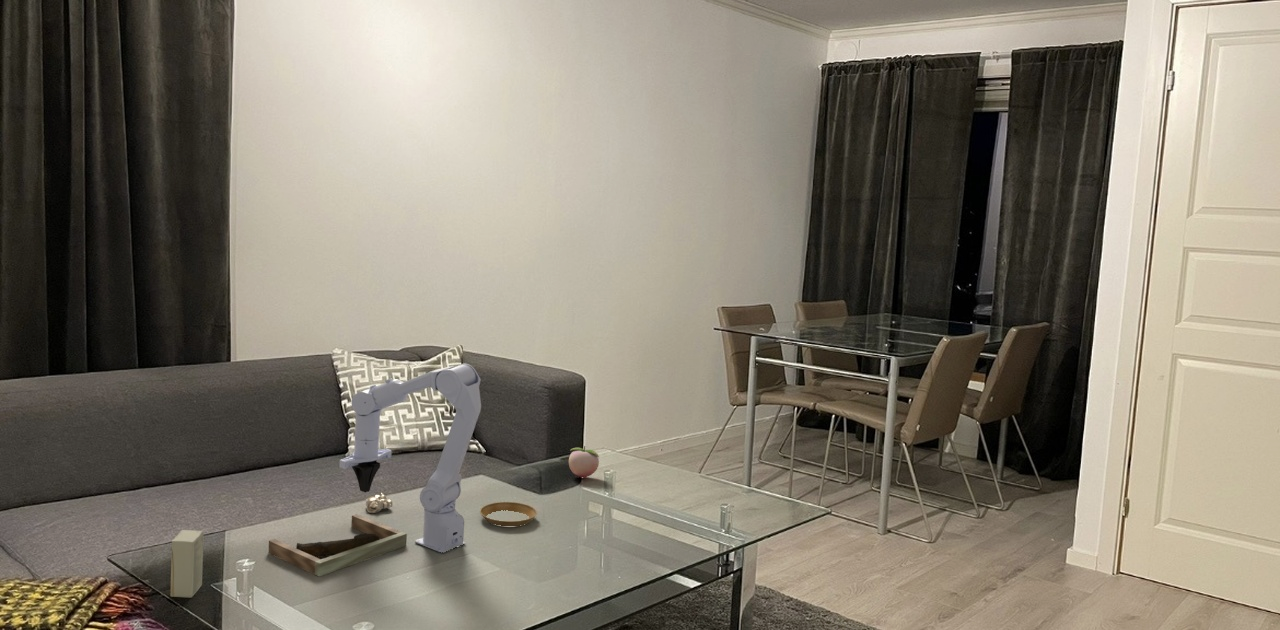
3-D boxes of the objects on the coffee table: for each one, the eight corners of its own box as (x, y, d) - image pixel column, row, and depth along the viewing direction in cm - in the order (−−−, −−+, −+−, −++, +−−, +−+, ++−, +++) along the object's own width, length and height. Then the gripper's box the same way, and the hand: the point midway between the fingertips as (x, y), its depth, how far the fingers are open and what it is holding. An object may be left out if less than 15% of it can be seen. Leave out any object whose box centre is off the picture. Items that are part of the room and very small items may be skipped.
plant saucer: (468, 523, 254) (468, 513, 254) (498, 507, 268) (499, 497, 267) (517, 535, 249) (518, 525, 248) (546, 518, 262) (547, 509, 262)
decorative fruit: (563, 480, 294) (565, 448, 292) (570, 472, 302) (572, 440, 300) (594, 484, 292) (596, 452, 291) (600, 476, 300) (602, 444, 299)
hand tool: (296, 564, 221) (297, 544, 221) (295, 557, 225) (295, 537, 224) (382, 556, 229) (383, 537, 229) (379, 550, 233) (380, 531, 232)
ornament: (387, 516, 254) (388, 502, 254) (361, 513, 255) (361, 500, 254) (396, 505, 262) (396, 492, 262) (370, 503, 262) (371, 490, 262)
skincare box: (181, 584, 206) (182, 528, 204) (203, 585, 206) (204, 530, 205) (169, 597, 200) (170, 540, 198) (192, 598, 200) (193, 541, 198)
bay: (406, 545, 236) (406, 533, 235) (319, 576, 215) (319, 563, 215) (356, 525, 246) (356, 514, 245) (268, 553, 225) (268, 540, 225)
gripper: (379, 429, 250) (376, 480, 252) (331, 439, 238) (330, 493, 240) (398, 435, 246) (395, 487, 248) (351, 445, 234) (349, 500, 236)
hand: (364, 490), depth 244 cm, fingers closed
